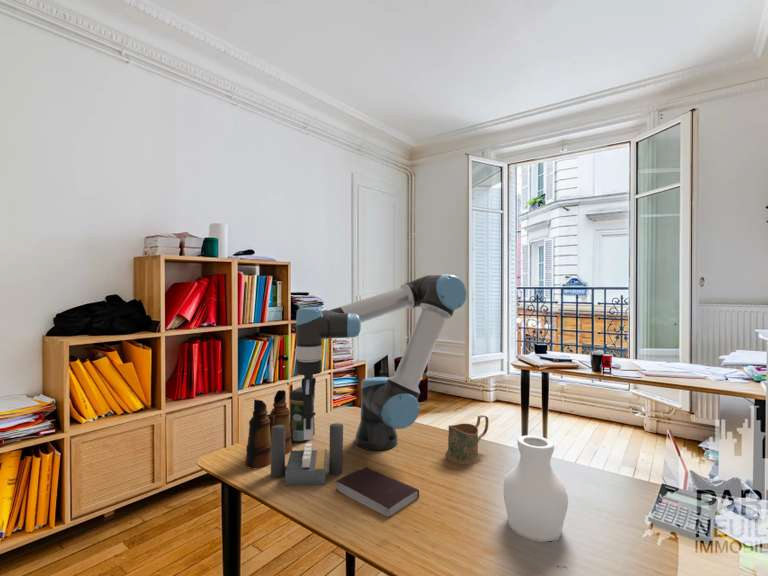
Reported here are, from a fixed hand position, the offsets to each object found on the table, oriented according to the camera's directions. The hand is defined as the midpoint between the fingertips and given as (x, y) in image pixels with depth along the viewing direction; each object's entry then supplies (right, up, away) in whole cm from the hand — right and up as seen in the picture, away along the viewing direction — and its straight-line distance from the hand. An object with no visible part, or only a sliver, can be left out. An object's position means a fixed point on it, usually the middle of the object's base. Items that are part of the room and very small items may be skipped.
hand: (308, 438), depth 117 cm
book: (+21, -11, -11) cm, 26 cm away
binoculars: (-15, -10, +11) cm, 21 cm away
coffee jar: (-8, -10, +27) cm, 30 cm away
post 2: (+8, -10, +1) cm, 13 cm away
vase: (+58, -11, -24) cm, 64 cm away
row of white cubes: (0, -6, 0) cm, 6 cm away
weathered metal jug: (+51, -11, +15) cm, 54 cm away
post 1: (-9, -10, -1) cm, 14 cm away
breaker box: (0, -10, 0) cm, 10 cm away
